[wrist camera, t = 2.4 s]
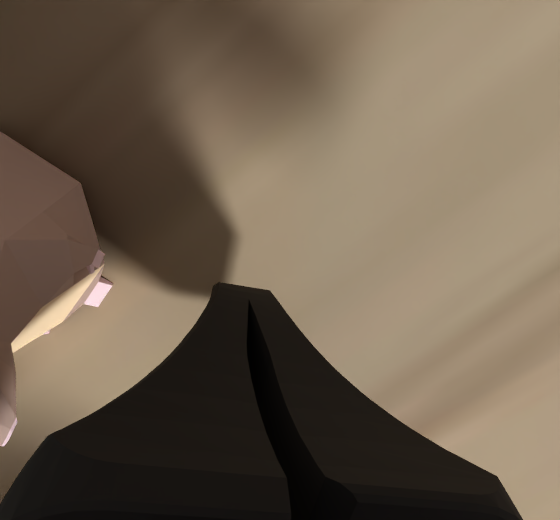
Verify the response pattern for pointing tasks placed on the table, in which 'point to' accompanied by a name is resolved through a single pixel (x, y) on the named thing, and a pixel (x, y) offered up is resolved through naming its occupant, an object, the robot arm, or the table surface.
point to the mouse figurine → (40, 259)
